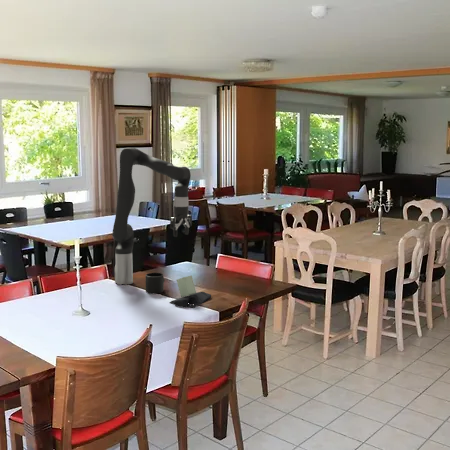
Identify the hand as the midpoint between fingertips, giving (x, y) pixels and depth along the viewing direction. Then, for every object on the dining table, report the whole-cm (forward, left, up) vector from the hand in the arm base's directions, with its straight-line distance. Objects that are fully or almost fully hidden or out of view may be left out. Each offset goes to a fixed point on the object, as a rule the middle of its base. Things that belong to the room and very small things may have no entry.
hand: (181, 235), depth 294 cm
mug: (-9, -9, -30) cm, 33 cm away
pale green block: (+16, -12, -27) cm, 33 cm away
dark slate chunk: (+18, -12, -31) cm, 37 cm away
